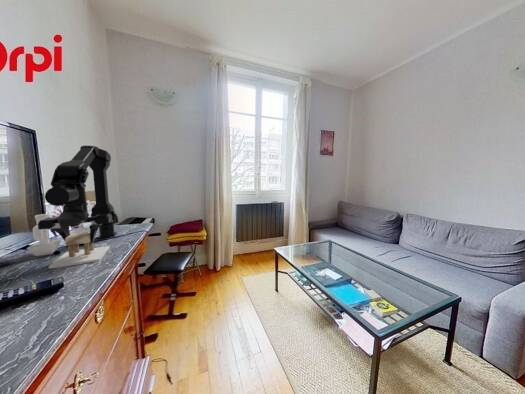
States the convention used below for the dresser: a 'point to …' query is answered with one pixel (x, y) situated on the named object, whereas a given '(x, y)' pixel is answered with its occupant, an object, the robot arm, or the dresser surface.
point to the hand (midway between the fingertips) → (81, 244)
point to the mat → (80, 258)
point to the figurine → (42, 239)
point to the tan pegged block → (78, 239)
